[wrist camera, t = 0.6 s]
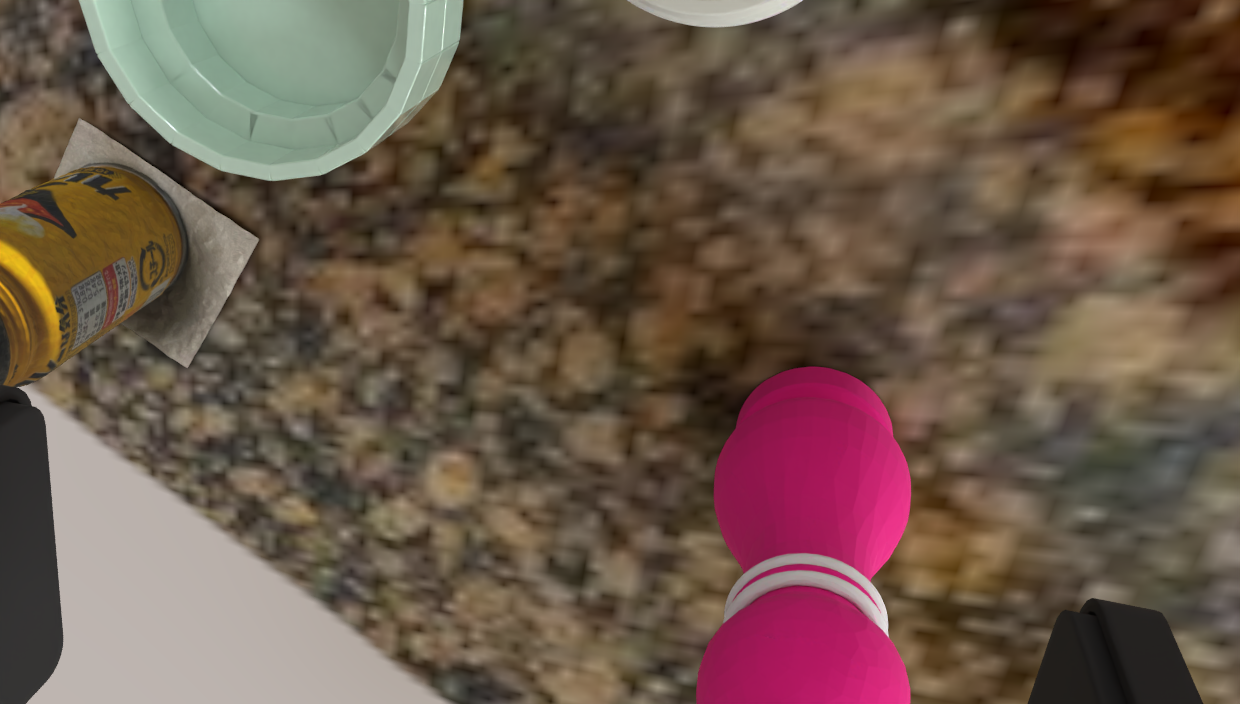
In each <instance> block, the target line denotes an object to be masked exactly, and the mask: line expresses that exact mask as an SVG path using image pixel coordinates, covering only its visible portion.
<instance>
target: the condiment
mask: <svg viewBox="0 0 1240 704" xmlns="http://www.w3.org/2000/svg"><path fill="white" fill-rule="evenodd" d="M258 241H259V239H258V238H257V237H255V236H254V235H252V234H251V233H249V232H248V231H246V230H244V229H243V228H241V227H240V226H238V225H237V224H236V223H234V222H233V221H232V220H230V219H229V218H227V217H226V216H224V215H222V214H220V213H218V212H217V211H216V210H214V209H213V208H212V207H210V206H209V205H207V204H206V203H205V202H203V201H202V200H200V199H198V198H197V197H195V196H194V195H192V194H191V193H190V192H189V191H187V190H186V189H184V188H183V187H181V186H180V185H179V184H177V183H176V182H175V181H173V180H172V179H171V178H169V177H168V176H166V175H165V174H164V173H162V172H161V171H159V170H158V169H157V168H155V167H153V166H152V165H150V164H149V163H147V162H146V161H144V160H143V159H141V158H140V157H139V156H137V155H136V154H134V153H132V152H131V151H130V150H128V149H127V148H126V147H124V146H123V145H121V144H120V143H118V142H116V141H115V140H113V139H111V138H110V137H108V136H107V135H106V134H105V133H103V132H102V131H100V130H99V129H97V128H95V127H94V126H92V125H91V124H89V123H87V122H85V121H83V120H81V119H80V118H79V120H78V122H77V125H76V127H75V129H74V132H73V134H72V136H71V138H70V141H69V144H68V146H67V148H66V150H65V153H64V156H63V158H62V160H61V163H60V165H59V168H58V170H57V172H56V174H55V177H54V179H52V180H50V181H49V182H46V183H44V184H41V185H39V186H36V187H34V188H32V189H31V190H26V191H25V192H23V193H21V194H20V195H18V196H16V197H14V198H12V199H10V200H8V201H5V202H3V203H1V204H0V384H1V385H6V386H11V387H21V386H25V385H28V384H30V383H32V382H35V381H38V380H39V379H41V378H42V377H44V376H46V375H47V374H48V373H50V372H52V371H53V370H54V369H56V368H57V367H58V366H60V365H61V364H63V363H64V362H66V361H67V360H68V359H70V358H71V357H73V356H74V355H75V354H77V353H78V352H80V351H81V350H83V349H84V348H85V347H87V346H88V345H90V344H91V343H93V342H94V341H95V340H97V339H98V338H100V337H101V336H103V335H104V334H106V333H107V332H109V331H110V330H111V329H113V328H114V327H115V326H117V325H118V324H121V325H123V326H125V327H127V328H129V329H130V330H132V331H133V332H135V333H136V334H137V335H139V336H141V337H143V338H144V339H146V340H147V341H149V342H150V343H152V344H153V345H155V346H156V347H157V348H158V349H160V350H161V351H162V352H163V353H165V354H166V355H167V356H169V357H170V358H172V359H174V360H176V361H177V362H179V363H180V364H182V365H183V366H185V367H186V368H188V366H189V365H190V363H191V361H192V359H193V358H194V356H195V354H196V353H197V351H198V350H199V348H200V346H201V344H202V342H203V341H204V339H205V337H206V335H207V333H208V332H209V329H210V328H211V326H212V325H213V323H214V321H215V319H216V318H217V316H218V314H219V312H220V310H221V309H222V307H223V305H224V303H225V301H226V299H227V298H228V296H229V295H230V294H231V291H232V289H233V287H234V285H235V283H236V280H237V279H238V277H239V275H240V274H241V272H242V270H243V269H244V267H245V265H246V263H247V261H248V259H249V257H250V255H251V253H252V252H253V250H254V248H255V246H256V244H257V243H258Z"/></svg>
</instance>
